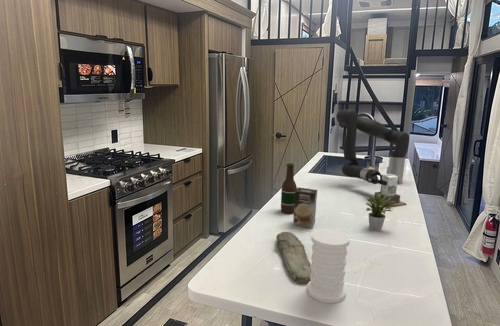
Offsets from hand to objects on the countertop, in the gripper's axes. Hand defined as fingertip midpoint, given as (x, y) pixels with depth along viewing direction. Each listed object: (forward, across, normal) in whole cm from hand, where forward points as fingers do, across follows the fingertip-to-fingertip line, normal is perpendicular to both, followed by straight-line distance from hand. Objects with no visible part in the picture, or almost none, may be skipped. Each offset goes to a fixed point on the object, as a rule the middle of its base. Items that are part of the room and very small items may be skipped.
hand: (392, 182), depth 187 cm
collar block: (-2, 0, +12) cm, 13 cm away
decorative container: (+54, -82, +12) cm, 99 cm away
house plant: (+23, -33, +12) cm, 42 cm away
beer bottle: (-10, -57, +12) cm, 59 cm away
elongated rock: (+32, -80, +12) cm, 87 cm away
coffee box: (+7, -59, +12) cm, 61 cm away
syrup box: (-2, 0, +11) cm, 11 cm away
